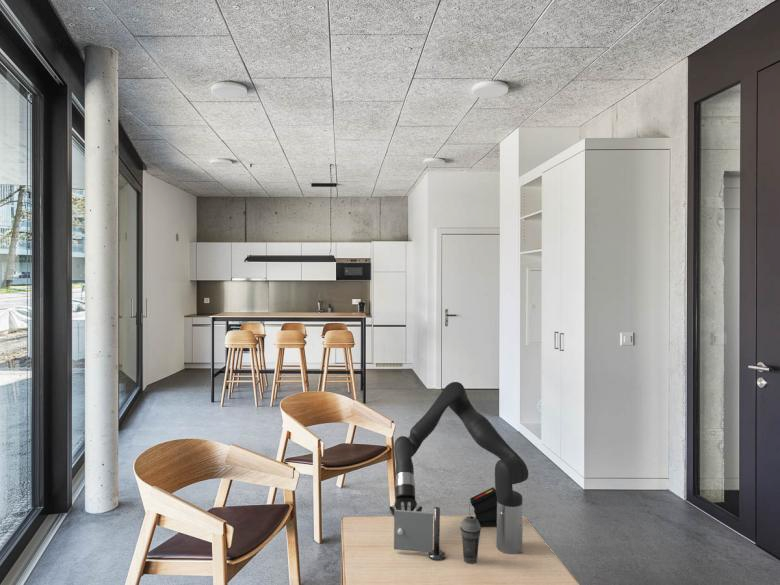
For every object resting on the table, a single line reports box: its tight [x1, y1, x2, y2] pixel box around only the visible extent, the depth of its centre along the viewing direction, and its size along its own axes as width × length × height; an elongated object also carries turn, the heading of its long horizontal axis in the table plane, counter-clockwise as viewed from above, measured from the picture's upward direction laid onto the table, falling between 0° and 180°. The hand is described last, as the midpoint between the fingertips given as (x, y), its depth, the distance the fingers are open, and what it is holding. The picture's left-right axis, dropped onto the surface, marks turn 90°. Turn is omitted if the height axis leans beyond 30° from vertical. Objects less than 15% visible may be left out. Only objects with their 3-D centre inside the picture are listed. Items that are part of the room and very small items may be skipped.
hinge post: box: [427, 506, 446, 562], centre depth 201 cm, size 6×6×18 cm
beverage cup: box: [459, 502, 482, 565], centre depth 198 cm, size 7×7×20 cm
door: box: [393, 509, 434, 553], centre depth 202 cm, size 14×2×14 cm, turn 81°
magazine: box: [469, 486, 497, 528], centre depth 227 cm, size 4×13×15 cm, turn 93°
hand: (406, 532), depth 205 cm, fingers closed
